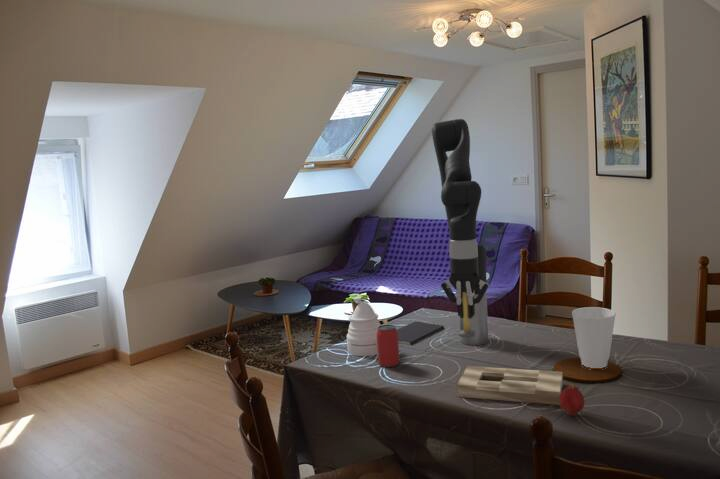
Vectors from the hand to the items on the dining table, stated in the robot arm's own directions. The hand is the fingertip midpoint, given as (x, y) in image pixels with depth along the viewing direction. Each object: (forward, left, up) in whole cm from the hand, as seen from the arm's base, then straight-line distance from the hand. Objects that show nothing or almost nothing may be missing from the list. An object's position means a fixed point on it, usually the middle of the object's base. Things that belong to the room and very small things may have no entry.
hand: (466, 317), depth 168 cm
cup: (-21, +33, -20) cm, 43 cm away
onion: (+14, +28, -20) cm, 37 cm away
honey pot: (-24, -39, -20) cm, 50 cm away
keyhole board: (+2, +12, -19) cm, 23 cm away
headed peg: (0, 0, -5) cm, 5 cm away
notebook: (-43, -28, -20) cm, 55 cm away
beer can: (-12, -27, -20) cm, 36 cm away
